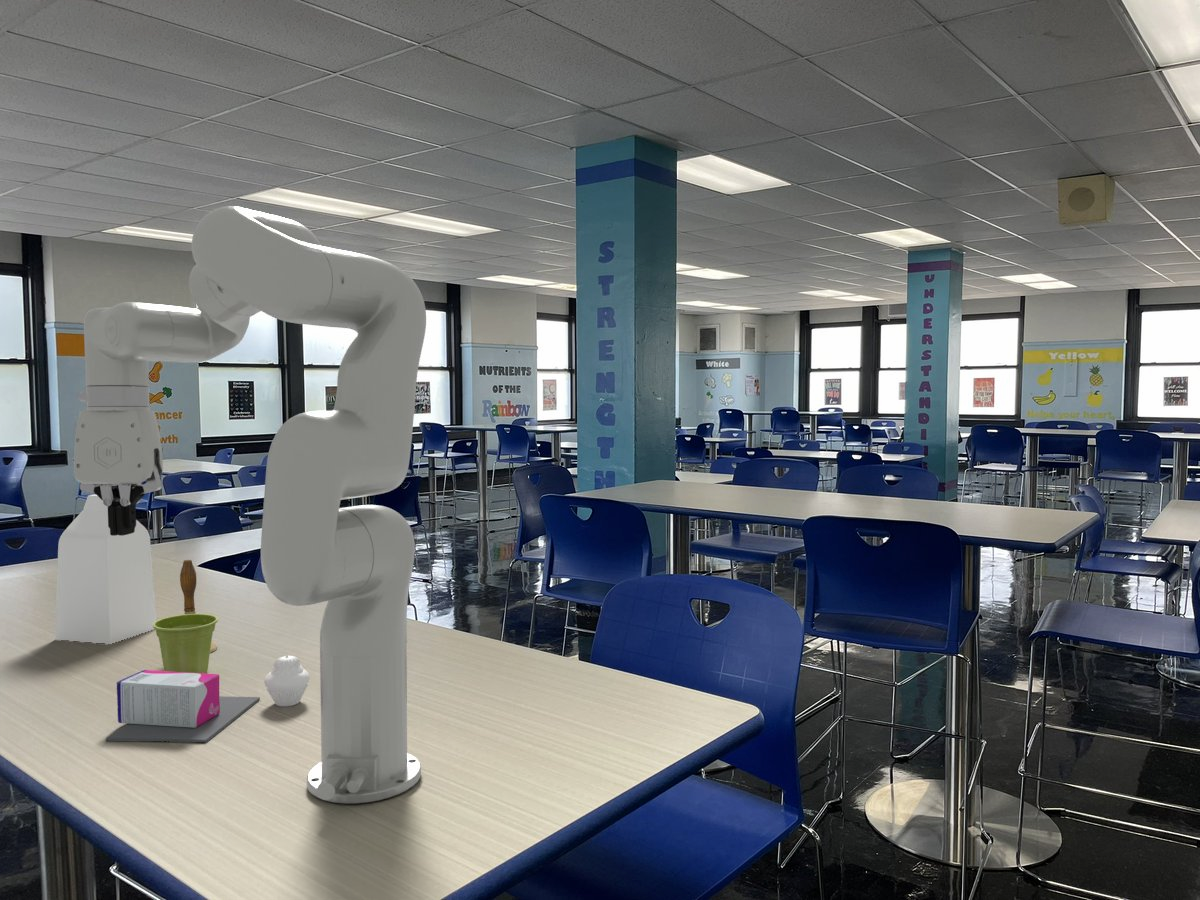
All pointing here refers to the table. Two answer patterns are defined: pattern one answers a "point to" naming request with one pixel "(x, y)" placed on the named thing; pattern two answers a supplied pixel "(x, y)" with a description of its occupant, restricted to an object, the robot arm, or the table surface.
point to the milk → (103, 580)
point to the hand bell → (190, 590)
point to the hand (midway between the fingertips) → (122, 533)
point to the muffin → (287, 681)
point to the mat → (202, 733)
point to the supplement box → (168, 698)
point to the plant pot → (186, 642)
